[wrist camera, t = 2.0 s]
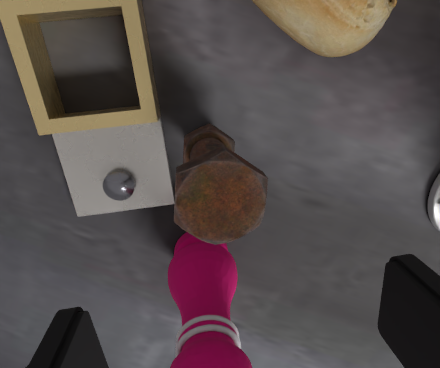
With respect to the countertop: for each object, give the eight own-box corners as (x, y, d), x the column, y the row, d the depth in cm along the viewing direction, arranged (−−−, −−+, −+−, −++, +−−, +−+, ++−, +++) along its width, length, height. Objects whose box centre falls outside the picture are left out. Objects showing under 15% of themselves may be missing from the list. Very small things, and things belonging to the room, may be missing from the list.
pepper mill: (203, 284, 36) (220, 507, 18) (157, 254, 34) (121, 473, 16) (243, 246, 35) (306, 445, 16) (198, 211, 33) (212, 398, 14)
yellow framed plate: (117, -146, 21) (104, -185, 18) (175, 199, 32) (173, 214, 29) (-26, -138, 21) (-65, -177, 17) (81, 211, 31) (69, 227, 28)
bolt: (167, 145, 30) (150, 212, 16) (195, 103, 28) (202, 136, 14) (214, 175, 31) (236, 259, 17) (242, 136, 30) (289, 194, 16)
